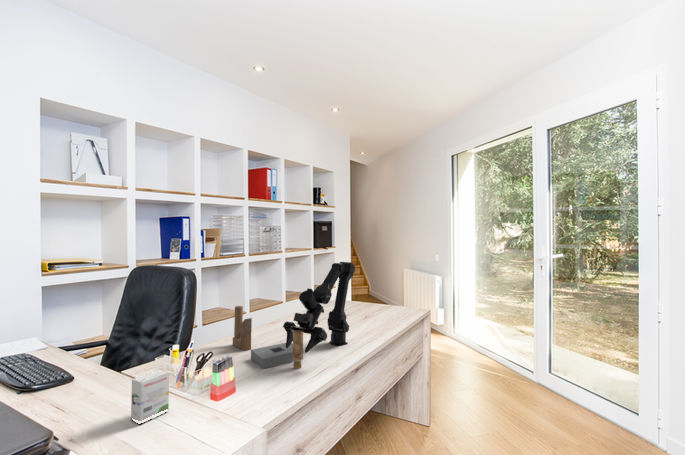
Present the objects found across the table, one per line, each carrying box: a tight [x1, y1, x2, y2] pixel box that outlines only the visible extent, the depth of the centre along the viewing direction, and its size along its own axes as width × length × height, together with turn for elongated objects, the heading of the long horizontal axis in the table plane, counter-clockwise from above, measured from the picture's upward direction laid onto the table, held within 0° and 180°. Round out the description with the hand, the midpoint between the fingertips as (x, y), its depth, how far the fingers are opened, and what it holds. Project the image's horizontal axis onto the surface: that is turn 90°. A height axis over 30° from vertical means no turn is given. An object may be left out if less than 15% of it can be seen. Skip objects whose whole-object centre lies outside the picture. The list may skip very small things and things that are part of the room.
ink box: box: [130, 369, 170, 421], centre depth 99 cm, size 8×5×12 cm, turn 150°
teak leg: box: [292, 330, 304, 370], centre depth 136 cm, size 4×4×14 cm
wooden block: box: [232, 305, 253, 352], centre depth 157 cm, size 4×11×18 cm, turn 45°
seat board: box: [250, 342, 304, 370], centre depth 144 cm, size 18×12×4 cm, turn 126°
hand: (295, 350), depth 135 cm, fingers open, 9 cm apart
